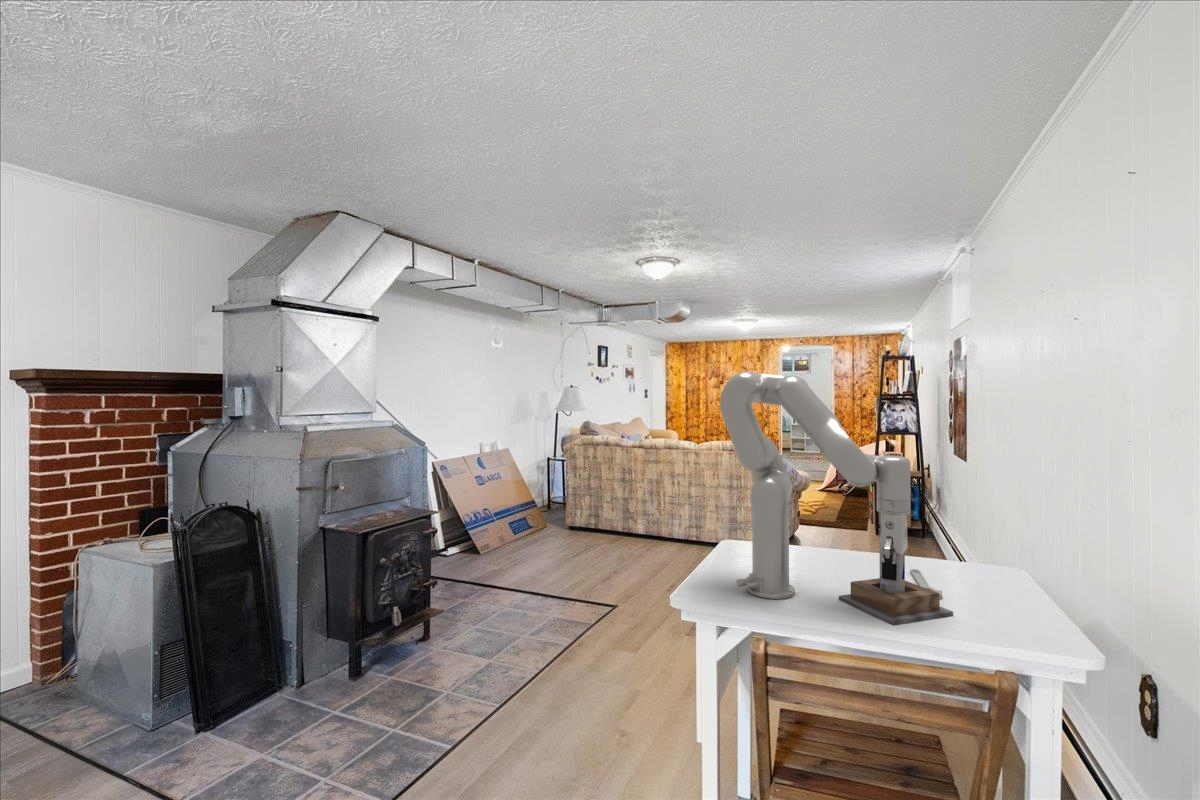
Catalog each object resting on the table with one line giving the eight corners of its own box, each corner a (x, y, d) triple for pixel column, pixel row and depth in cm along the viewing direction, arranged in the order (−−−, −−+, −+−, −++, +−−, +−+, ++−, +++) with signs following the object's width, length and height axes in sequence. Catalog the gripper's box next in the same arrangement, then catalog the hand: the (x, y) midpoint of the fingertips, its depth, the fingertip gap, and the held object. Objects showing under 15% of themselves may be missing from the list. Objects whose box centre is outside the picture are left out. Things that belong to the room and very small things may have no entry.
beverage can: (909, 607, 145) (909, 545, 144) (887, 607, 144) (887, 546, 144) (896, 599, 150) (896, 540, 150) (875, 599, 150) (875, 540, 150)
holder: (893, 625, 136) (893, 603, 136) (838, 599, 153) (838, 580, 153) (953, 615, 141) (953, 594, 141) (894, 592, 159) (894, 573, 159)
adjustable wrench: (908, 573, 176) (909, 567, 176) (933, 576, 174) (933, 570, 174) (916, 600, 154) (916, 593, 154) (944, 603, 151) (944, 596, 151)
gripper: (904, 513, 138) (904, 586, 138) (914, 502, 152) (914, 568, 152) (870, 509, 142) (869, 580, 142) (882, 499, 156) (882, 563, 157)
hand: (892, 574), depth 147 cm, fingers open, 9 cm apart
